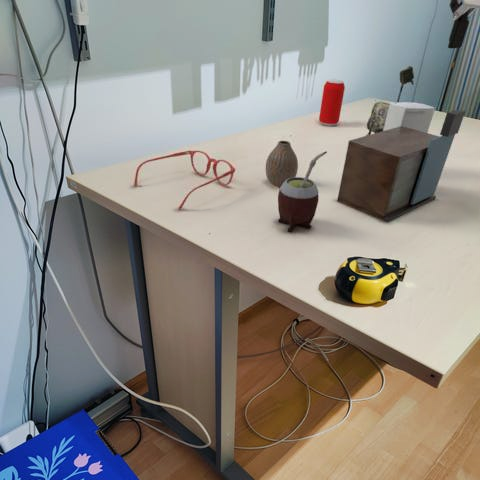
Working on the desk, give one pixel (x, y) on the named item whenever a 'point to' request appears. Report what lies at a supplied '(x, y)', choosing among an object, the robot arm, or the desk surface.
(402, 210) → the cabinet
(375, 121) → the camouflage trail camera
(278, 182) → the vase
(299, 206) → the mate gourd
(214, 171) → the red eyeglasses
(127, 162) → the desk surface
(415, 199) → the sliding door
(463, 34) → the robot arm
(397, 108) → the cosmetic box
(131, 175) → the desk surface
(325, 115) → the beverage can
